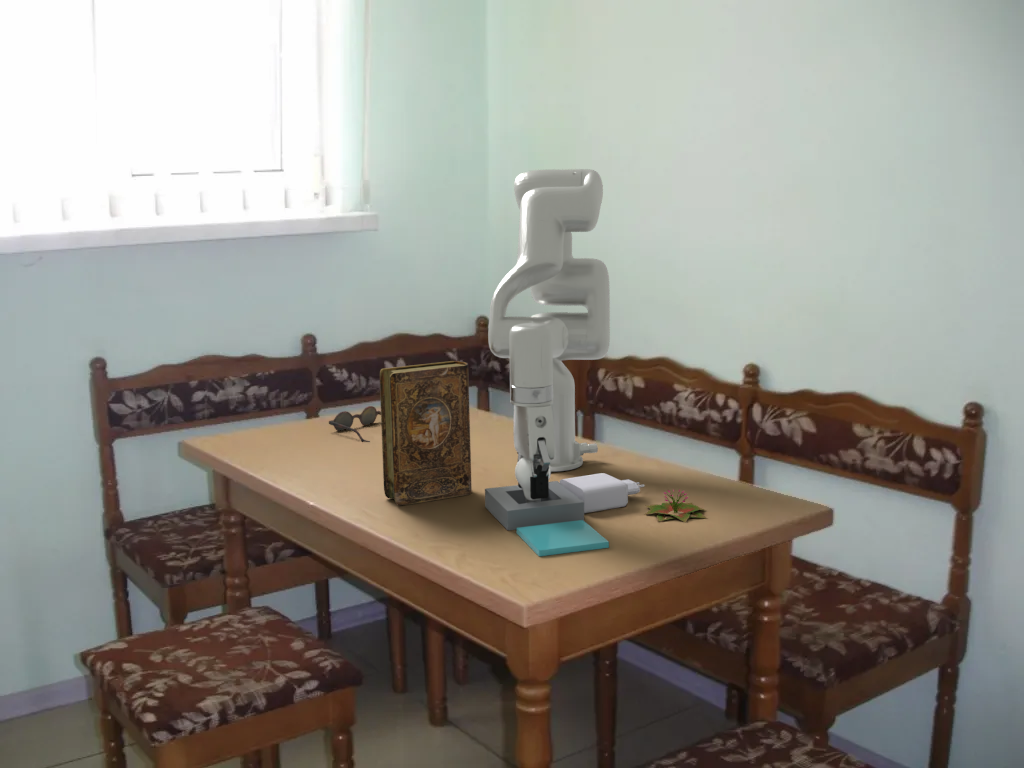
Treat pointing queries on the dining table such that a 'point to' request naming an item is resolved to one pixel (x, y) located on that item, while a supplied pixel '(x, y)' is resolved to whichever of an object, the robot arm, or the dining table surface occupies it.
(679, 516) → the lily flower
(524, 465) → the lightbulb
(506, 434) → the dining table surface
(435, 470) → the book
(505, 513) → the frame
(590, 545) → the plate
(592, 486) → the charger
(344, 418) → the eyeglasses
